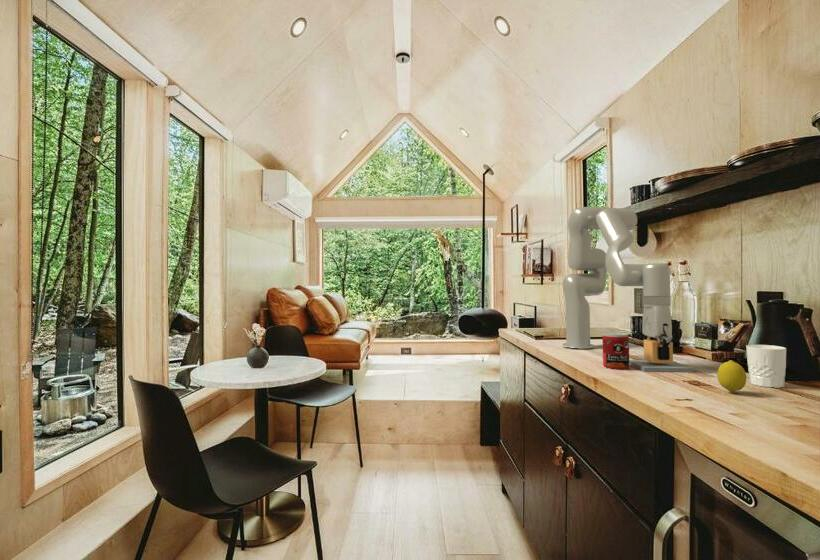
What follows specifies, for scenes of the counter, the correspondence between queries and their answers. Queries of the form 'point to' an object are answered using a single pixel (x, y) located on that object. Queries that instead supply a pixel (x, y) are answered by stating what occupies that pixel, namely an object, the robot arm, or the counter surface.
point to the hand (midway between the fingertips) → (658, 357)
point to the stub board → (660, 366)
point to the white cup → (766, 365)
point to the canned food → (615, 350)
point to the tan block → (655, 352)
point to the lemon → (731, 376)
